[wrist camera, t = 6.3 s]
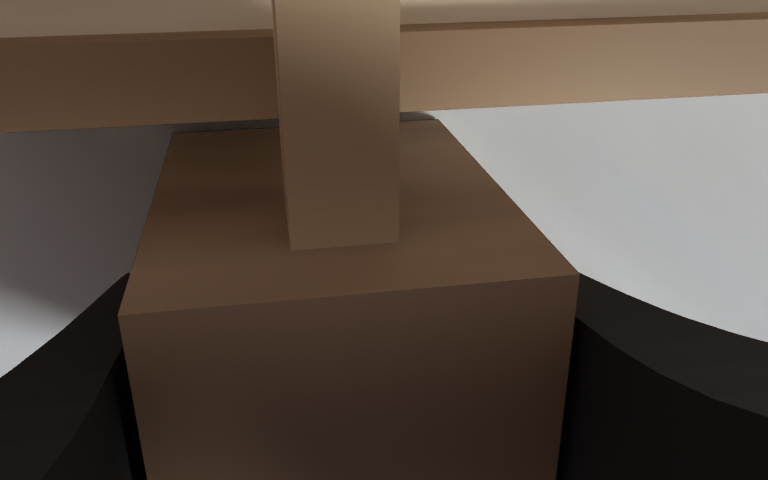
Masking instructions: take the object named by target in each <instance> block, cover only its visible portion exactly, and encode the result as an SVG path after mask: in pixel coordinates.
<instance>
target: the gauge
mask: <svg viewBox="0 0 768 480" xmlns="http://www.w3.org/2000/svg"><path fill="white" fill-rule="evenodd" d="M271 4H272V19H273V35H274V50H275V65H276V80H277V95H278V110H279V125H280V128H264V129H245V130H226V131H208V132H189V133H173V134H172V137H171V141H170V144H169V147H168V150H167V154H166V157H165V160H164V164H163V167H162V170H161V174H160V177H159V180H158V184H157V187H156V190H155V193H154V197H153V200H152V203H151V207H150V210H149V213H148V217H147V220H146V223H145V227H144V230H143V233H142V236H141V240H140V243H139V246H138V250H137V253H136V256H135V260H134V263H133V266H132V270H131V273H130V276H129V279H128V283H127V286H126V289H125V293H124V296H123V299H122V303H121V306H120V309H119V313H118V321H119V326H120V332H121V337H122V343H123V348H124V354H125V359H126V365H127V370H128V376H129V382H130V387H131V393H132V398H133V404H134V409H135V415H136V420H137V426H138V431H139V437H140V443H141V448H142V454H143V459H144V465H145V470H146V476H147V480H556V473H557V465H558V456H559V448H560V439H561V431H562V422H563V414H564V405H565V397H566V388H567V380H568V372H569V363H570V355H571V346H572V338H573V329H574V321H575V312H576V304H577V295H578V287H579V278H580V274H579V273H578V271H577V270H576V269H575V268H574V267H573V266H572V265H571V264H570V263H569V262H568V261H567V259H566V258H565V257H564V256H563V255H562V254H561V253H560V252H559V251H558V250H557V249H556V247H555V246H554V245H553V244H552V243H551V242H550V241H549V240H548V239H547V238H546V236H545V235H544V234H543V233H542V232H541V231H540V230H539V229H538V228H537V227H536V226H535V224H534V223H533V222H532V221H531V220H530V219H529V218H528V217H527V216H526V215H525V214H524V212H523V211H522V210H521V209H520V208H519V207H518V206H517V205H516V204H515V203H514V202H513V200H512V199H511V198H510V197H509V196H508V195H507V194H506V193H505V192H504V191H503V189H502V188H501V187H500V186H499V185H498V184H497V183H496V182H495V181H494V180H493V179H492V177H491V176H490V175H489V174H488V173H487V172H486V171H485V170H484V169H483V168H482V167H481V165H480V164H479V163H478V162H477V161H476V160H475V159H474V158H473V157H472V156H471V155H470V153H469V152H468V151H467V150H466V149H465V148H464V147H463V146H462V145H461V144H460V142H459V141H458V140H457V139H456V138H455V137H454V136H453V135H452V134H451V133H450V132H449V130H448V129H447V128H446V127H445V126H444V125H443V124H442V123H441V122H440V121H439V120H438V119H434V120H415V121H400V0H271Z"/></svg>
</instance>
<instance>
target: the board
mask: <svg viewBox="0 0 768 480" xmlns="http://www.w3.org/2000/svg"><path fill="white" fill-rule="evenodd" d="M758 93H768V0H400V112H412V111H431V110H451V109H470V108H489V107H508V106H527V105H547V104H566V103H585V102H604V101H623V100H643V99H662V98H681V97H700V96H719V95H739V94H758ZM278 118H279V110H278V95H277V80H276V65H275V50H274V35H273V19H272V4H271V0H0V133H9V132H28V131H47V130H67V129H86V128H105V127H124V126H143V125H163V124H182V123H201V122H220V121H239V120H259V119H278Z"/></svg>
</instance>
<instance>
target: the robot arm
mask: <svg viewBox="0 0 768 480" xmlns="http://www.w3.org/2000/svg"><path fill="white" fill-rule="evenodd" d="M578 273H579V272H578ZM579 274H580V278H579V287H578V295H577V304H576V312H575V321H574V329H573V338H572V346H571V355H570V363H569V372H568V380H567V388H566V397H565V405H564V414H563V422H562V431H561V439H560V448H559V456H558V465H557V473H556V480H768V342H764V341H760V340H757V339H753V338H749V337H746V336H742V335H738V334H735V333H731V332H728V331H725V330H722V329H719V328H716V327H713V326H710V325H707V324H703V323H700V322H697V321H694V320H691V319H688V318H685V317H682V316H680V315H677V314H674V313H671V312H669V311H666V310H663V309H661V308H659V307H656V306H654V305H651V304H649V303H646V302H644V301H641V300H639V299H636V298H634V297H632V296H629V295H627V294H625V293H622V292H620V291H618V290H616V289H613V288H611V287H609V286H607V285H605V284H602V283H600V282H598V281H596V280H594V279H592V278H590V277H587V276H585V275H583V274H581V273H579ZM129 276H130V273H127V274H126V275H124V276H123V277H122V278H120V279H119V280H118V281H117V282H116V283H115V284H113V285H112V286H111V287H110V288H109V289H108V290H107V291H106V292H105V293H103V294H102V295H101V296H100V297H99V298H98V299H97V300H96V301H95V302H94V303H92V304H91V305H90V306H89V307H88V308H87V309H86V310H85V311H83V312H82V313H81V314H80V315H79V316H78V317H77V318H75V319H74V320H73V321H72V322H71V323H70V324H69V325H67V326H66V327H65V328H64V329H63V330H62V331H61V332H59V333H58V334H57V335H56V336H54V337H53V338H52V339H50V340H49V341H48V342H47V343H45V344H44V345H43V346H42V347H40V348H39V349H38V350H36V351H35V352H34V353H33V354H31V355H30V356H29V357H27V358H26V359H25V360H24V361H22V362H21V363H20V364H18V365H17V366H16V367H15V368H13V369H12V370H11V371H9V372H8V373H6V374H5V375H4V376H2V377H1V378H0V480H147V476H146V470H145V465H144V459H143V454H142V448H141V443H140V437H139V431H138V426H137V420H136V415H135V409H134V404H133V398H132V393H131V387H130V382H129V376H128V370H127V365H126V359H125V354H124V348H123V343H122V337H121V332H120V326H119V321H118V313H119V309H120V306H121V303H122V299H123V296H124V293H125V289H126V286H127V283H128V279H129Z"/></svg>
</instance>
